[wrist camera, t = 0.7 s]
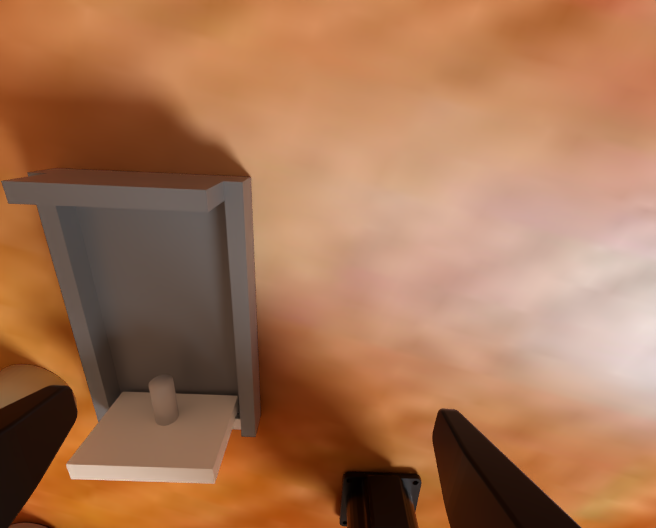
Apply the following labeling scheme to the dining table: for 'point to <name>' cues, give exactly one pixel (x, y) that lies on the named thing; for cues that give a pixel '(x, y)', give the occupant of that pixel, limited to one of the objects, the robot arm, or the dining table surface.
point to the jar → (24, 382)
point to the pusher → (158, 437)
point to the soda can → (26, 525)
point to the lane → (154, 279)
